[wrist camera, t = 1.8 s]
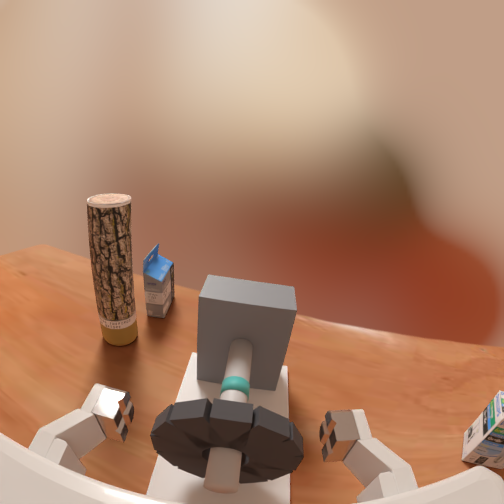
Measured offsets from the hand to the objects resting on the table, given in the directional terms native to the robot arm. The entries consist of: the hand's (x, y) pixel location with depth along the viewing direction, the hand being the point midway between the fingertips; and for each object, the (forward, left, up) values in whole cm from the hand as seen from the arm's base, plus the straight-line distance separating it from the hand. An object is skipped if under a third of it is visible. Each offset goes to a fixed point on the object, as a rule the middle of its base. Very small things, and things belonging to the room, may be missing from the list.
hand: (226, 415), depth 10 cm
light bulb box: (+42, +7, -25) cm, 50 cm away
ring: (0, +7, -23) cm, 24 cm away
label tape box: (-18, +42, -25) cm, 52 cm away
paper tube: (-22, +30, -25) cm, 45 cm away
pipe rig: (0, +15, -25) cm, 29 cm away
